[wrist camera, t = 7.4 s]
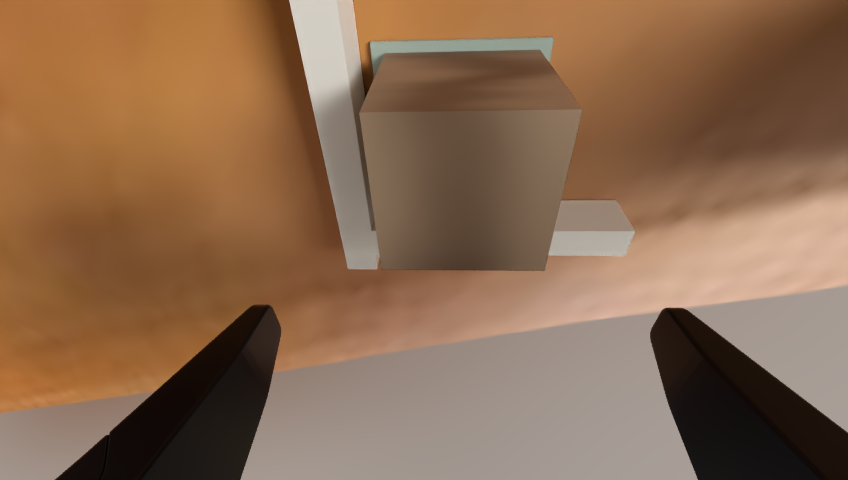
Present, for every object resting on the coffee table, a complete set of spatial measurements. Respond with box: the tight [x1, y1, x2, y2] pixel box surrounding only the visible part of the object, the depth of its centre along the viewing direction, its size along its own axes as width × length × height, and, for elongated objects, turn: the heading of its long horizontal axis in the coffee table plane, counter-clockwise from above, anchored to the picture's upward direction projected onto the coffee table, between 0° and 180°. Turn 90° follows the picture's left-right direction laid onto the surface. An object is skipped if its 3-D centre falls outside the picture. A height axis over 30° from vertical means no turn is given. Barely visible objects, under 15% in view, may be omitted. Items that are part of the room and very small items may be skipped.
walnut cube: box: [359, 50, 583, 271], centre depth 15 cm, size 6×6×6 cm
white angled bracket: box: [289, 0, 635, 269], centre depth 16 cm, size 14×14×2 cm
